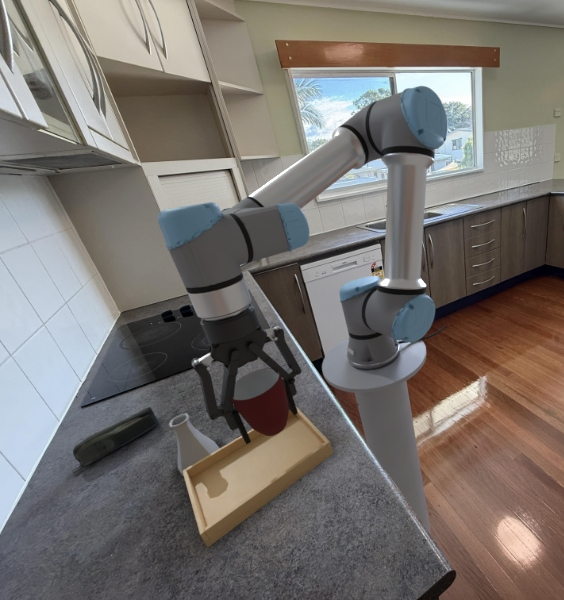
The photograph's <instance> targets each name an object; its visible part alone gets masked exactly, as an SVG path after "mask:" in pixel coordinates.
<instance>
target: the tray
mask: <svg viewBox="0 0 564 600" xmlns="http://www.w3.org/2000/svg"><path fill="white" fill-rule="evenodd" d="M296 408H297V411H298V413H297V414H296V415H294V414H293V413H292V412H291V411H290V410H289V414H288V420H287V424H286V426H285V428H284V429H283V430H282V431H281V432H280V433H278V434H276V435H274V436H266V435H263V434H261V433H259V432H257V431H255V430H254V429H253V428H251V429H250V430H249V431H247V433H248V436H249V438H250V440H251V442H250V443H248V444H246V443H245V441H244V439H243V437H242V436H241V435H240V436H239V437H237V438H235V439H233V440H232V441H230V442H228V443H227V444H225V445H223V446H221V447H219V448H220V449H218V450H217V451H215V452H213V453H211V454H210V455H208V456H206V457H205V458H203V459H201V460H200V461H198V462H196V463H195V464H193V465H191V466H190V467H188V468H186V469H185V470H183V471H182V472H183V475H184V476H183V479H184V482H185V486H186V490H187V493H188V496H189V500H190V502H191V507H192V512H193V514H194V519H195V522H196V525H197V529H198V533H199V535H200V537H201V539H202V540H203V542H204V544H205V545H206V547H207V548H210V546H213V544H215V543H216V542H218V541H219V540H220V539H221V538H223V537H224V536H225V535H227V534H228V533H229V532H231V531H233V530H234V529H235V528H236V527H237V526H239V525H240V524H241V523H243V522H244V521H245V520H247V519H248V518H249V517H251V516H252V515H254V514H255V513H256V512H257V511H259V510H260V509H261V508H263V507H264V506H266V505H267V504H268V503H269V502H271V501H272V500H274V499H275V498H276V497H277V496H279V495H280V494H282V493H283V492H284V491H285V490H287V489H288V488H289V487H291V486H292V485H294V484H295V483H296V482H298V481H299V480H300V479H301V478H303V477H304V476H305V475H307V474H308V473H309V472H311V471H312V470H314V469H315V468H316V467H317V466H319V465H320V464H322V463H323V462H325V460H327V459H329V457H331V456H332V455H334V451H333V448H332V446H331V445H332V444H331V442H330V440H329V439H328V438H327V437H326V436H325V435H324V434H323V433H322V431H320V430H319V429H318V428H317V427H316V426H315V424H314V423H313V422H312V421H311V420H309V418H308V417H307V416H306V415H305V414H304V413H303V412H302V411H301V410H300V408H299V407H297V406H296Z"/></svg>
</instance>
